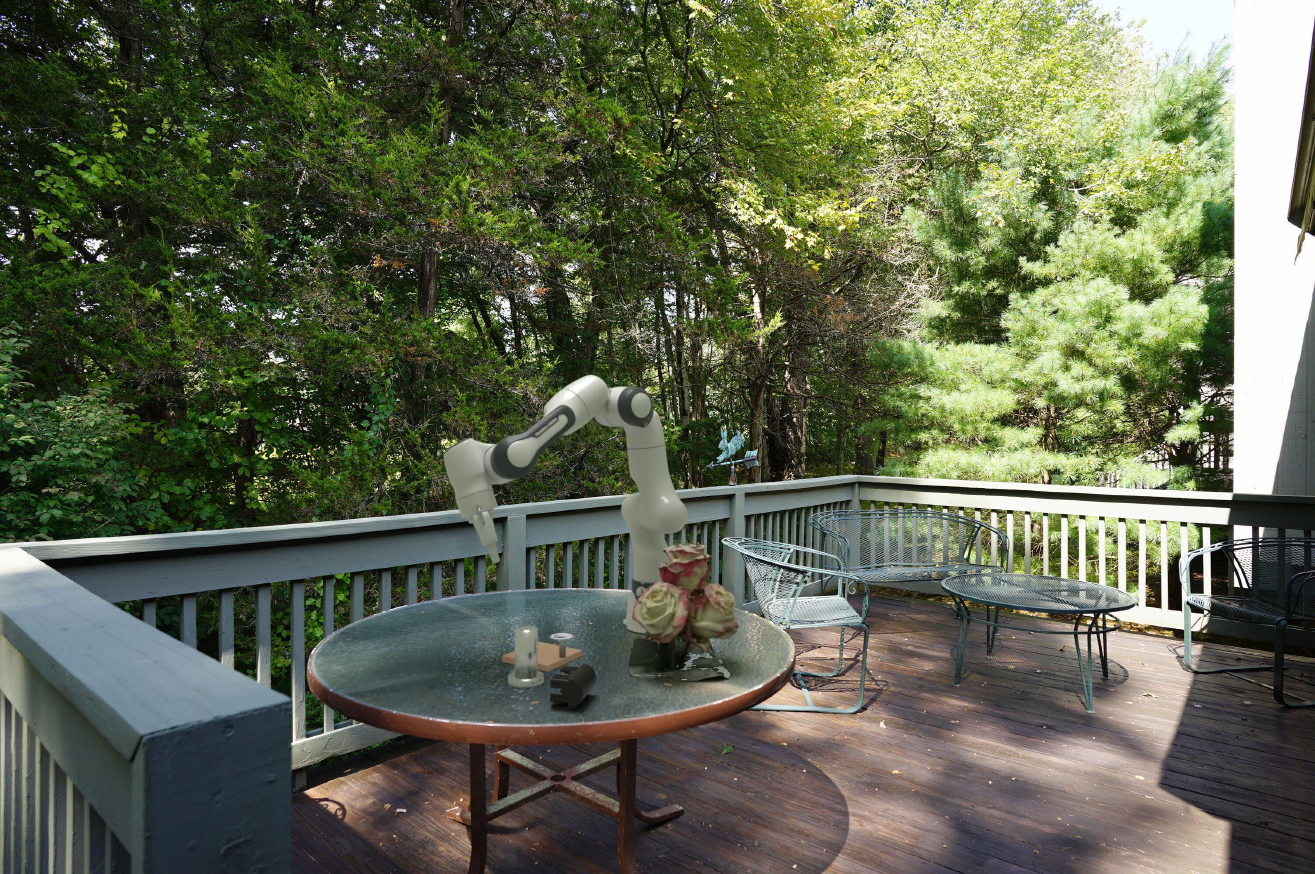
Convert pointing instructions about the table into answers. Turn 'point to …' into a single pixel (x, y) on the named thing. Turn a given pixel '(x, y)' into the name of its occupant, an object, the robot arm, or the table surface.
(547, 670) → the locating plate
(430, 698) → the table surface
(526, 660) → the hub
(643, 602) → the rose bouquet
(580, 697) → the end cap
